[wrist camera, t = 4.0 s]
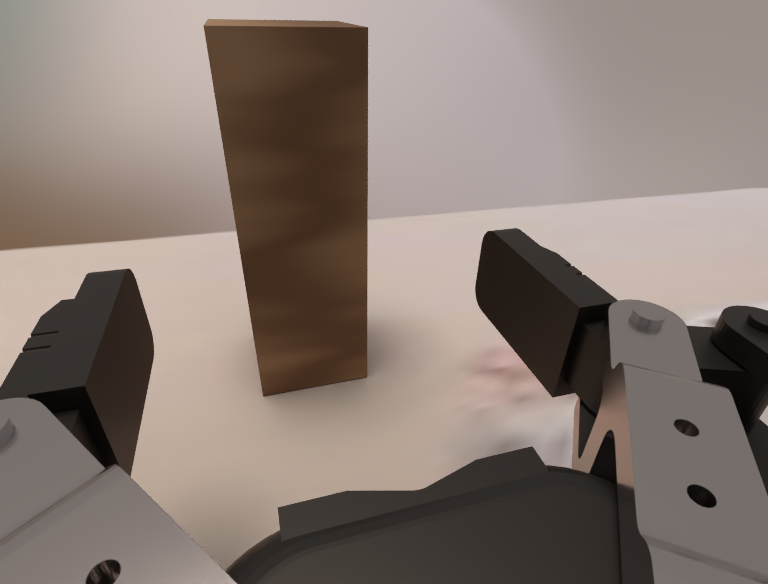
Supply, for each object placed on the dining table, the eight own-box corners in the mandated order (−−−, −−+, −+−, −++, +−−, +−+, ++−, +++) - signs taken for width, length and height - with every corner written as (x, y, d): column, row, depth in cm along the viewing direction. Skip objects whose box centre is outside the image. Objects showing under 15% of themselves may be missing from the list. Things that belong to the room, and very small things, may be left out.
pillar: (263, 396, 17) (203, 25, 11) (256, 333, 21) (207, 19, 14) (367, 376, 18) (368, 27, 12) (345, 319, 22) (336, 21, 15)
